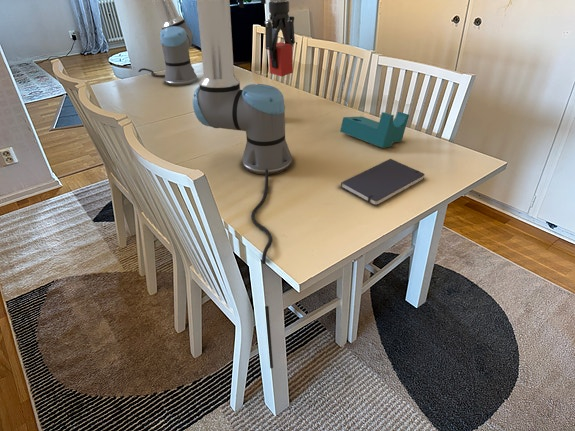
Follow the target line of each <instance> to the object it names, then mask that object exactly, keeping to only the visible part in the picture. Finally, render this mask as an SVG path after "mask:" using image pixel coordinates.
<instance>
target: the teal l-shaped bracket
mask: <svg viewBox="0 0 575 431" xmlns="http://www.w3.org/2000/svg"><path fill="white" fill-rule="evenodd" d="M394 117H395V118H394ZM409 118H410V114H408V113H404V112H401V111H397V113H396V116H395V115H394V114H392V113H388V112H383V111H382V112H381V115H380V118H379V121H377V120H373V119H370V118H367V117H366V116H343V117H342V122H341V126H340V130H339V132H340V133H342V134H346V135H348V136H350V137H353V138H356V139H358V140H361V141H363V142H366V143H369V144H371V145H374V146H376V147H379V148H381V149H384V148H392V147H393V144H394V143H398V142H399V143H400V142H402V141H403V137H404V134H405V131H406V128H407V124H408V121H409Z"/></svg>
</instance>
